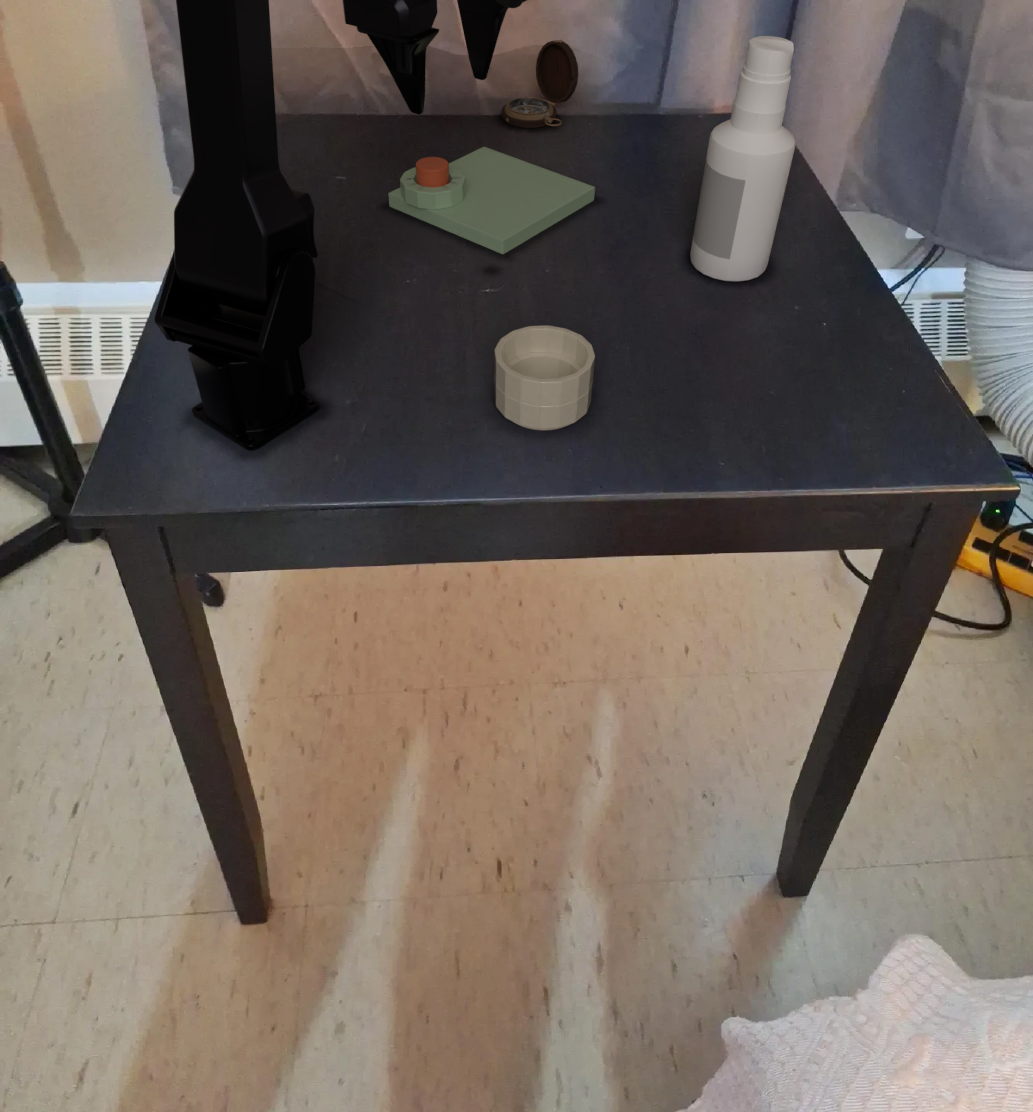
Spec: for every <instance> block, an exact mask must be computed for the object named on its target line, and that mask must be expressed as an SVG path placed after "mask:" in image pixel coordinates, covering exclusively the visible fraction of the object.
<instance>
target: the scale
mask: <svg viewBox="0 0 1033 1112" xmlns="http://www.w3.org/2000/svg"><path fill="white" fill-rule="evenodd" d="M448 164H449V183H448V184H446V185H444V186H441V187H424V186H421V185H419V184H417V177H416V166H414V167H412V168H410V169H408V170H406V171H404V172H403V173H402V175H401V177H400V179H399V186H400V187H398V188H396V189H394V190H392V191H389V192H388V206H389V208H392V209H394V210H396V211H399V212H402V213H403V214H406V215H409V216H411V217H413V218H416V219H418V220H420V221H422V222H425V223H428V224H429V225H433V226H434V227H437V228H439V229H441V230H444V231H446V232H448V233H451V234H454V235H456V236H458V237H461V238H462V239H465V240H468V241H470V242H472V243H474V244H477V245H480V246H482V247H485V248H486V249H489V250H491V251H494V252H496V253H499V254H501V255H505V254H506V253H508V252H510V251H511V250H513V249H515V248H517V247H518V246H520V245H522V244H523V243H525V242H527V241H528V240H530V239H531V238H533V237H535V236H536V235H538V234H540V233H541V232H543V231H545V230H547V229H548V228H550V227H552V226H553V225H555V224H557V223H559V222H560V221H562V220H564V219H565V218H567V217H568V216H570V215H572V214H574V213H576V212H577V211H578V210H580V209H582V208H584V207H585V206H587V205H589V204H591V203H592V202H594V201H595V196H596V195H595V193H596V187H595V186H593V185H590V184H588V183H586V182H582V181H581V180H577V179H574V178H571V177H569V176H566V175H563V174H561V173H557V172H555V171H553V170H550V169H547V168H545V167H541V166H539V165H537V164H533V163H530V162H527V161H525V160H522V159H520V158H517V157H514V156H511V155H508V154H506V153H503V152H500V151H498V150H495V149H492V148H489V147H486V146H482V147H480V148H478V149H476V150H474V151H471V152H470V153H468V154H465V155H463V156H461V157H460V158H457V159H455V160H453V161H451V162H448Z"/></svg>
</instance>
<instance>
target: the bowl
mask: <svg viewBox="0 0 1033 1112" xmlns="http://www.w3.org/2000/svg"><path fill="white" fill-rule="evenodd" d="M493 359H494V363H493V365H494V370H493V372H494V375H493V376H494V379H493V380H494V384H493V385H494V387H493V389H494V390H493V392H494V393H493V394H494V395H493V396H494V397H493V398H494V402H495V407H496V410H498V411H499V412H500V413H501V415H502V416H503V417H504V418H505V419H507V420H508V421H511V422H512V423H514V424H515V425H517V426H520V427H522V428H525V429H529V430H534V431H554V430H555V431H556V430H559V429H564V428H565V427H568V426H570V425H573V424H575V423H577V422H578V421H579V420H580V419H581V418H582V417H584V416H585V415H587V413H588V411H589V409H590V405H591V402H592V394H593V393H592V392H593V383H594V373H595V362H596V354H595V350H594V348H593V345H592V343H590V342H589V341H588V339H586V338H585V337H584V336H583V335H582V334H579V333H578V332H576V331H574V330H570V329H569V328H565V327H560V326H554V325H547V324H545V325H528V326H525V327H520V328H518V329H514V330H511V331H510V332H508V333H507V334H505V335H504V336H502V337H501V338H500V339H499V340H498V342H497V344H496V346H495V348H494V358H493Z"/></svg>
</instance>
